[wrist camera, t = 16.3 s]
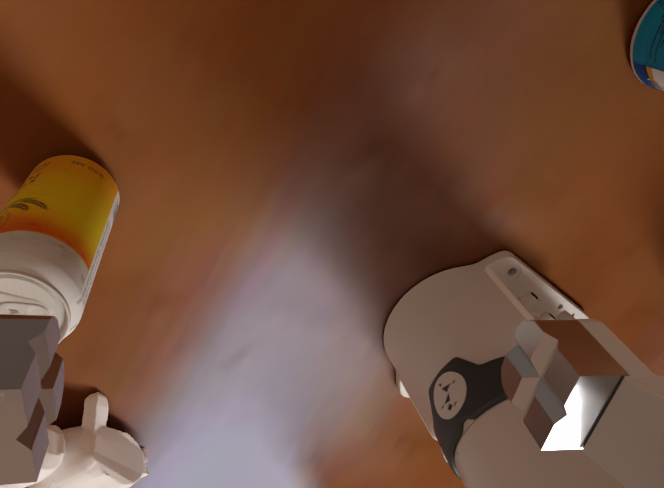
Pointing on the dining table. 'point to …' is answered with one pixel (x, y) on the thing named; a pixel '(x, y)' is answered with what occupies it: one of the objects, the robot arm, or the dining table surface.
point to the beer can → (55, 239)
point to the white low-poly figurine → (90, 454)
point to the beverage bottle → (649, 46)
